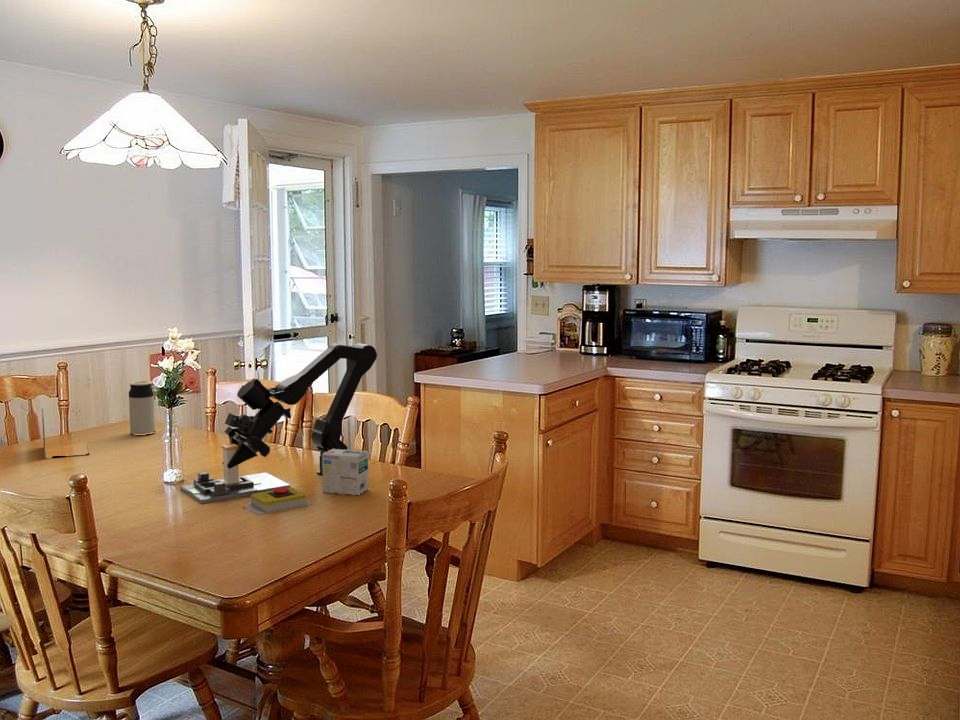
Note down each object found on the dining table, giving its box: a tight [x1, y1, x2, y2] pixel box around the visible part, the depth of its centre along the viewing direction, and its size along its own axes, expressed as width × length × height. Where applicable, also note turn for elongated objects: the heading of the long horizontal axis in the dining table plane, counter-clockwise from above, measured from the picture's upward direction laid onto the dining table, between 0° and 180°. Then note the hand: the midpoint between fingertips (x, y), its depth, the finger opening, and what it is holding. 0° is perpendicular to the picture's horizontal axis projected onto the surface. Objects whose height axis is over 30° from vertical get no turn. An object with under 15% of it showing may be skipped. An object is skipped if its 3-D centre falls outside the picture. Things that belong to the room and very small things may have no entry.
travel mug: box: [128, 380, 156, 435], centre depth 293 cm, size 8×8×18 cm
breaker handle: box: [219, 443, 243, 485], centre depth 225 cm, size 5×4×11 cm
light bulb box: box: [322, 449, 370, 496], centre depth 225 cm, size 11×7×11 cm, turn 74°
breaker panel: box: [180, 471, 291, 505], centre depth 226 cm, size 24×16×4 cm, turn 127°
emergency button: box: [242, 486, 313, 516], centre depth 213 cm, size 9×4×15 cm
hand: (225, 466), depth 224 cm, fingers closed on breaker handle, 3 cm apart
